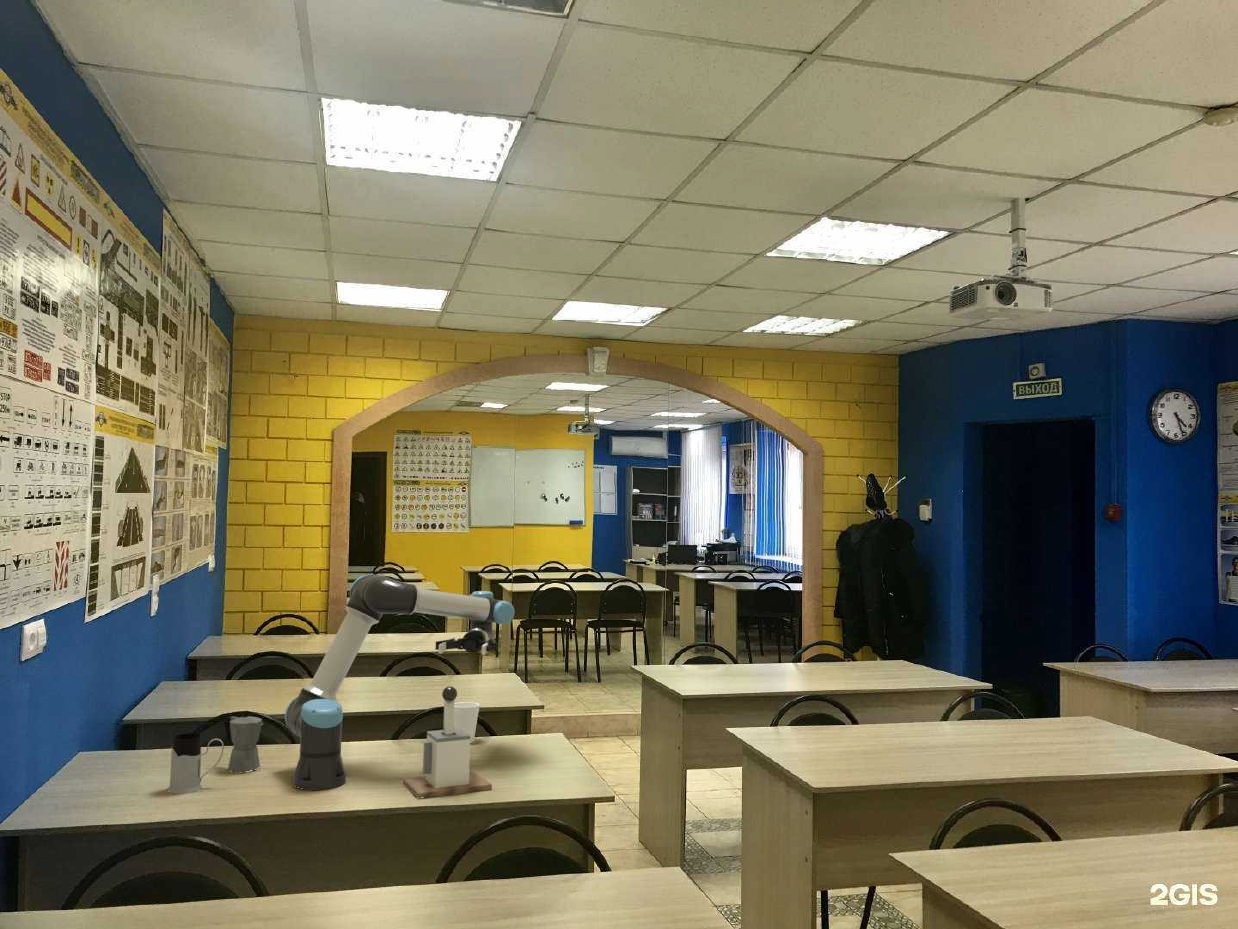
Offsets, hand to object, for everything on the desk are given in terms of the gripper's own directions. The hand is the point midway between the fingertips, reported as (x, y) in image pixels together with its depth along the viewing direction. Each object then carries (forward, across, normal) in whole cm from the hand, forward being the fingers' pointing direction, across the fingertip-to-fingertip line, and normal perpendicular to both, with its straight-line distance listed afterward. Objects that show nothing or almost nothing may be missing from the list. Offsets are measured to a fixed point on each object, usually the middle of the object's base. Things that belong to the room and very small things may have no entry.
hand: (461, 649), depth 288 cm
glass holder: (+24, +71, -38) cm, 84 cm away
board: (+14, 0, -38) cm, 41 cm away
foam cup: (-39, +6, -38) cm, 55 cm away
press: (+15, +1, -36) cm, 39 cm away
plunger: (+14, 0, -35) cm, 38 cm away
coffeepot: (+3, +67, -38) cm, 77 cm away
